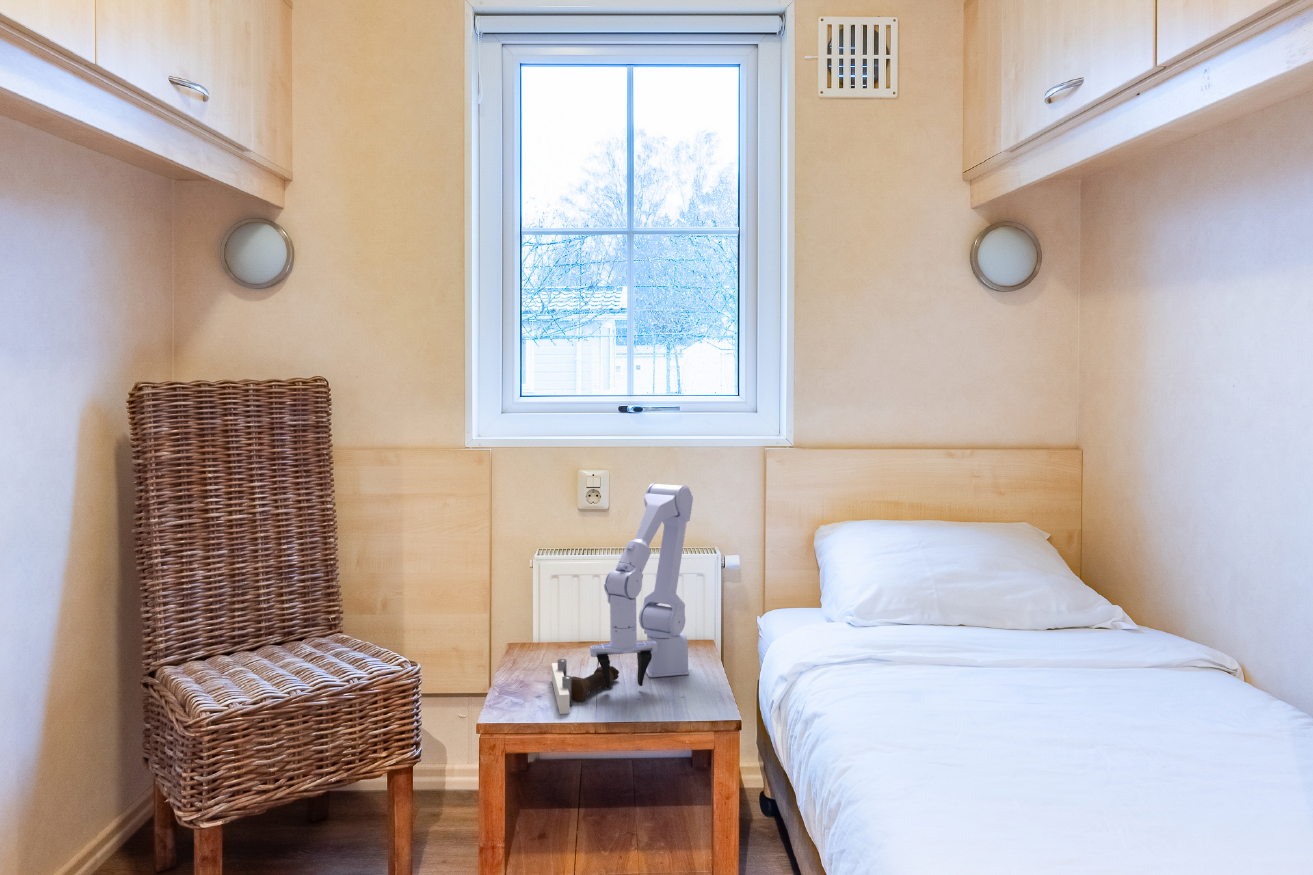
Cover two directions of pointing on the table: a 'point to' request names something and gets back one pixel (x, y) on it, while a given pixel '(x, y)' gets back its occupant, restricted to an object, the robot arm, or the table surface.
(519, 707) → the table surface
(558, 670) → the bar
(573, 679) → the bolt
